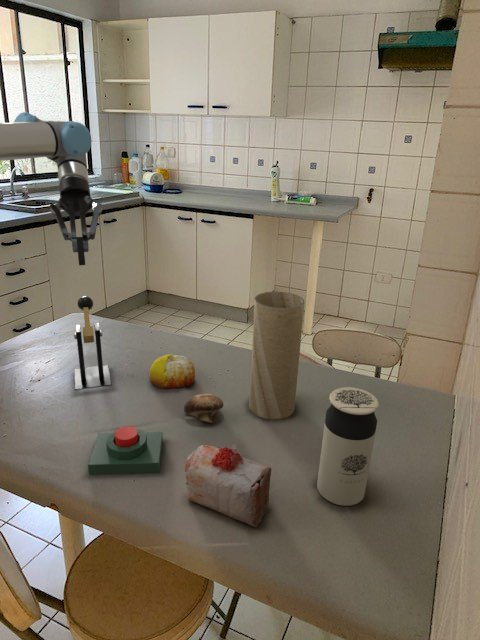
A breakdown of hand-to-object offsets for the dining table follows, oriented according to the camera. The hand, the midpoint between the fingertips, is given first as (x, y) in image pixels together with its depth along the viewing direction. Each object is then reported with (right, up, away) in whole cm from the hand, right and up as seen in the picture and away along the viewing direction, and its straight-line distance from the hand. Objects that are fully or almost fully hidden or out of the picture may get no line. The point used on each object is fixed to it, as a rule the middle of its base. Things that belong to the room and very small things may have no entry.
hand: (81, 262), depth 114 cm
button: (+18, -36, -30) cm, 51 cm away
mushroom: (+31, -35, -17) cm, 50 cm away
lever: (+3, -15, -4) cm, 16 cm away
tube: (+46, -33, -12) cm, 58 cm away
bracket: (+4, -29, -4) cm, 29 cm away
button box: (+18, -39, -29) cm, 52 cm away
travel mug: (+56, -43, -35) cm, 79 cm away
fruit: (+23, -29, -3) cm, 37 cm away
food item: (+37, -44, -38) cm, 69 cm away
